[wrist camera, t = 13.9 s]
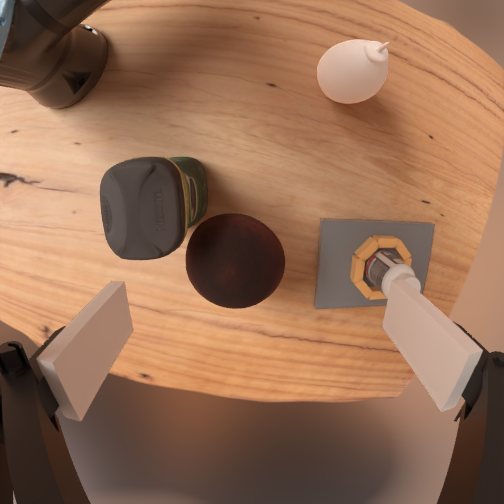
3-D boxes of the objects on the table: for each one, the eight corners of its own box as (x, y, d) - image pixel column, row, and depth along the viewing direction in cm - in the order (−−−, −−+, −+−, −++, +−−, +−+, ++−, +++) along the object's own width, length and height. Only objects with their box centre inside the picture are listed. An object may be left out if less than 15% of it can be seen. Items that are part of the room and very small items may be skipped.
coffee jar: (152, 160, 38) (86, 161, 21) (206, 155, 38) (173, 147, 21) (157, 225, 41) (100, 269, 23) (210, 223, 41) (183, 268, 23)
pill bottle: (371, 288, 43) (398, 317, 34) (358, 261, 42) (385, 287, 33) (398, 269, 43) (429, 295, 33) (386, 243, 41) (419, 263, 32)
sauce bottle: (364, 108, 36) (433, 82, 19) (315, 112, 37) (363, 79, 19) (352, 61, 34) (410, 13, 17) (303, 63, 34) (339, 5, 17)
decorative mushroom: (206, 278, 44) (189, 331, 29) (194, 206, 40) (166, 229, 26) (278, 269, 43) (293, 320, 29) (271, 196, 40) (284, 213, 26)
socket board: (320, 218, 41) (325, 222, 38) (430, 222, 42) (440, 226, 39) (313, 305, 45) (317, 314, 42) (417, 299, 46) (425, 306, 43)
